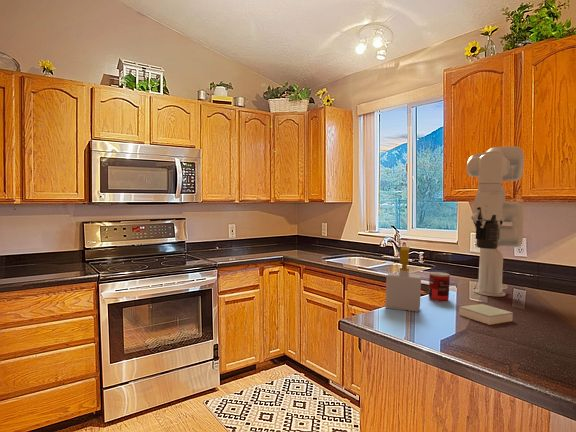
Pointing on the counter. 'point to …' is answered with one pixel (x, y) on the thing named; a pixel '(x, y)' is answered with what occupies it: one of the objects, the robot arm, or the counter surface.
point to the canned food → (439, 286)
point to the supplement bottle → (489, 235)
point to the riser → (486, 314)
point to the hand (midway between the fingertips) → (487, 238)
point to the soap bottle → (403, 287)
